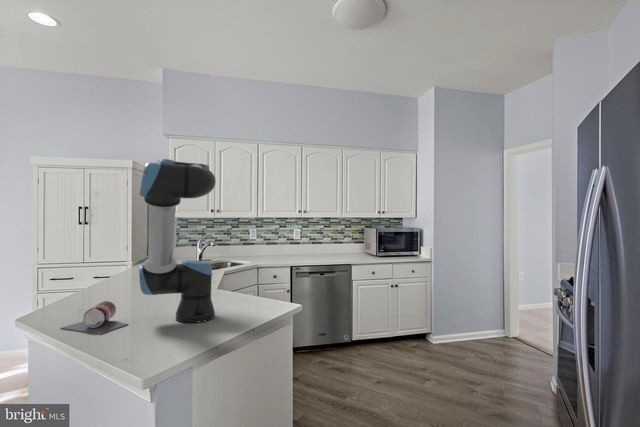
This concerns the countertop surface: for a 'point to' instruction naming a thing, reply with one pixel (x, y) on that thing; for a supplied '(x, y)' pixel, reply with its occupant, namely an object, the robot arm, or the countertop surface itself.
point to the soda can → (99, 314)
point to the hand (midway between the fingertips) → (163, 242)
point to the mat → (100, 330)
